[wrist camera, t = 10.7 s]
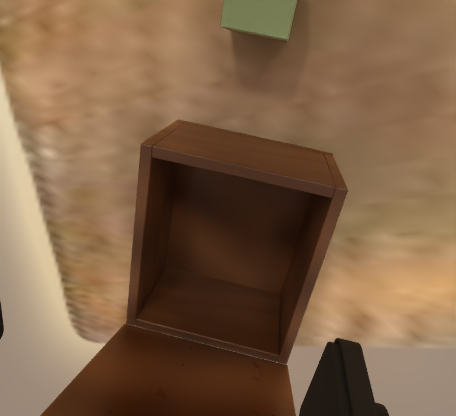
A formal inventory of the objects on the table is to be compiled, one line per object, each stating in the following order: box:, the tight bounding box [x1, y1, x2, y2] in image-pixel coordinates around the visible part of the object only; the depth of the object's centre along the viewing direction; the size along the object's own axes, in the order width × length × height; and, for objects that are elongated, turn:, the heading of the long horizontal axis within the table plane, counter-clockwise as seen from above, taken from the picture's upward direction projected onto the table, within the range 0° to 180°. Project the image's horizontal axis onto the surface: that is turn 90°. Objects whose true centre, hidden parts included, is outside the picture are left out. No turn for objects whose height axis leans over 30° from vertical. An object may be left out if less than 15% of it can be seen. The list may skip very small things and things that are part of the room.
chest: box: [126, 120, 348, 365], centre depth 30 cm, size 16×14×9 cm
